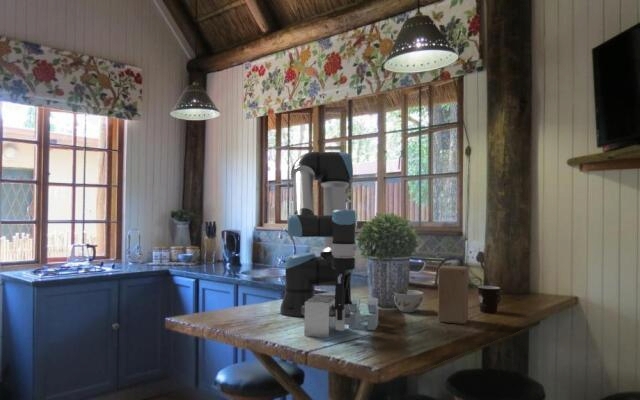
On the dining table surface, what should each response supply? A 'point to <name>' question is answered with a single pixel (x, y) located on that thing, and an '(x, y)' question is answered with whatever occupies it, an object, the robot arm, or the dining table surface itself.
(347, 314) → the axle
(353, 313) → the v stand
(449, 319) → the wooden block
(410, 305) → the teacup
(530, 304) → the dining table surface
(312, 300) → the grey box
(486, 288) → the coffee mug
